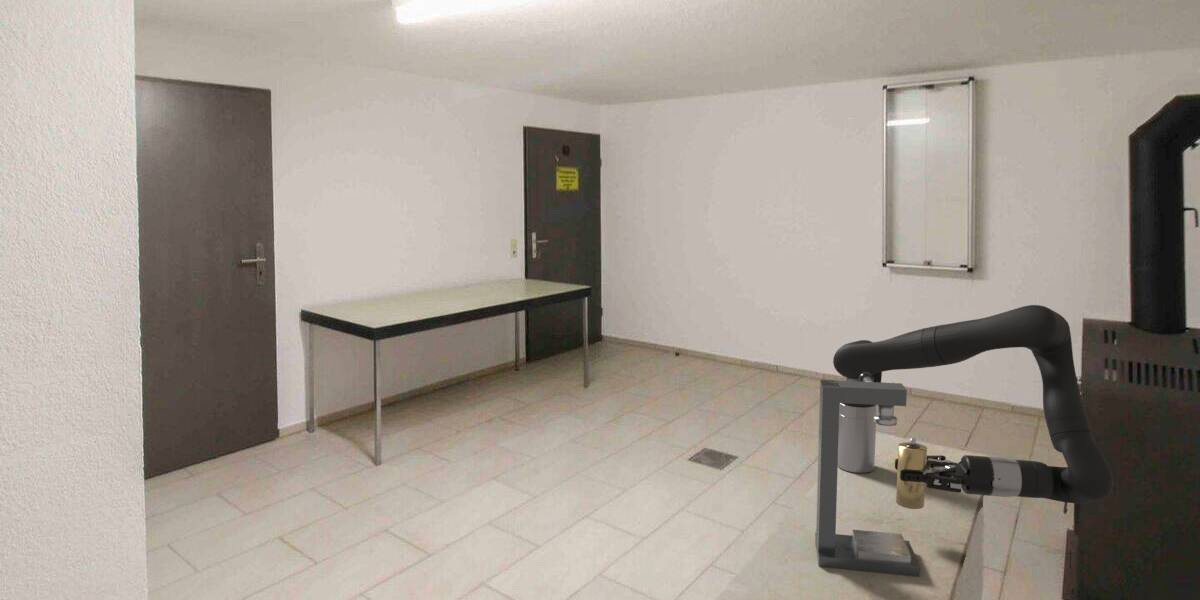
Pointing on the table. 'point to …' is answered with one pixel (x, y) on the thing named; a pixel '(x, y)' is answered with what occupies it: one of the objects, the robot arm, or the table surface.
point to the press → (833, 548)
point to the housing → (912, 459)
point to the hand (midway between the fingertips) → (898, 469)
